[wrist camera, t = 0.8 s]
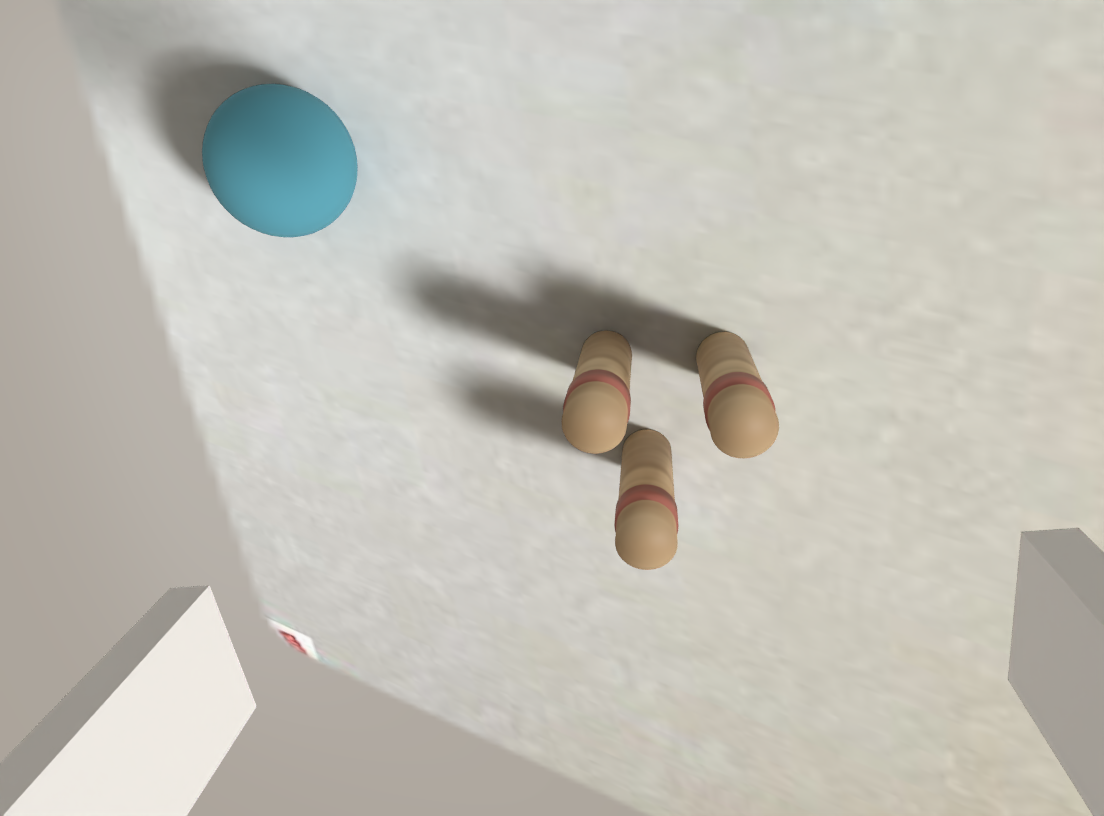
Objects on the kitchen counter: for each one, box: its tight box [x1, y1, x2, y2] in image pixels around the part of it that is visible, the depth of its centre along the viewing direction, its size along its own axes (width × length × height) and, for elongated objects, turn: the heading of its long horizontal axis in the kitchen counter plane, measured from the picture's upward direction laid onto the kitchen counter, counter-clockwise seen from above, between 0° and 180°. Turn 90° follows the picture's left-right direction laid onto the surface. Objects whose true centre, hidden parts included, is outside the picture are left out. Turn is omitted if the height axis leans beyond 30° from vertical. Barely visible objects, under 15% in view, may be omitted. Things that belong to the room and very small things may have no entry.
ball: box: [202, 84, 357, 237], centre depth 30 cm, size 6×6×6 cm
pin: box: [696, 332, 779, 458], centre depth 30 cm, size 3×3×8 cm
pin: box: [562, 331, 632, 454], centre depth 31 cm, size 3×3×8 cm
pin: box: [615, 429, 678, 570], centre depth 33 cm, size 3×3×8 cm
